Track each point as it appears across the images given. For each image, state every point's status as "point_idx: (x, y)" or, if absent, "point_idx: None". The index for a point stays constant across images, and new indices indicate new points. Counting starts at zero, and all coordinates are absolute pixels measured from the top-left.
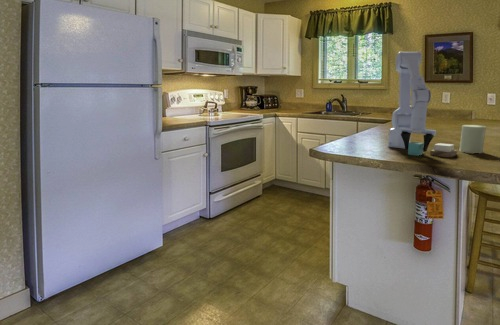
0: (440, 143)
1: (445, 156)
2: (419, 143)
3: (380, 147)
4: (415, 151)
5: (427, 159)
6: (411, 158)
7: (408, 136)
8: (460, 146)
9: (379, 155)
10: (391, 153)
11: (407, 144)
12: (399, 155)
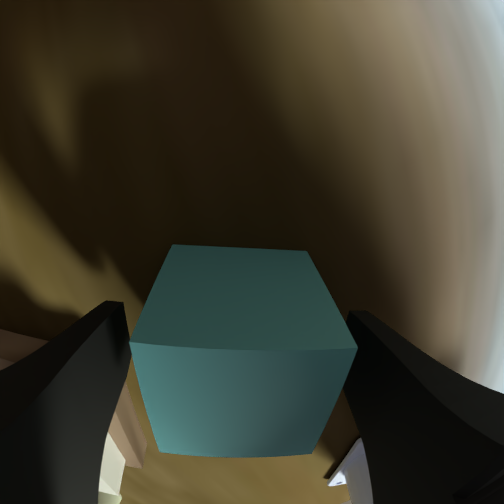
0: (100, 488)
1: (13, 334)
2: (180, 410)
3: (493, 371)
4: (210, 268)
5: (30, 97)
6: (179, 9)
7: (404, 486)
8: (100, 501)
9: (489, 28)
10: (456, 194)
11: (368, 376)
12: (369, 113)
